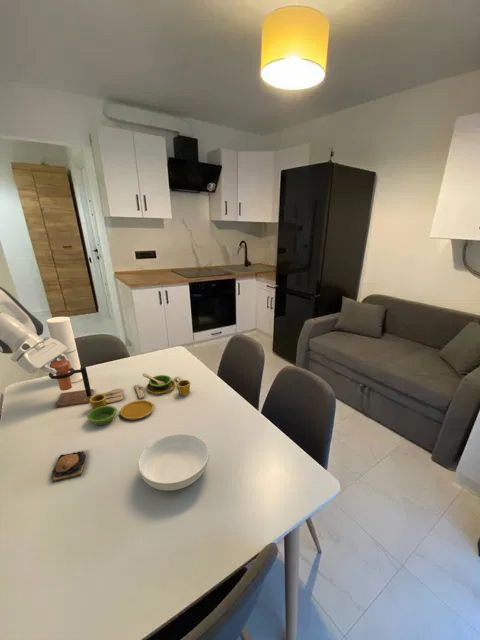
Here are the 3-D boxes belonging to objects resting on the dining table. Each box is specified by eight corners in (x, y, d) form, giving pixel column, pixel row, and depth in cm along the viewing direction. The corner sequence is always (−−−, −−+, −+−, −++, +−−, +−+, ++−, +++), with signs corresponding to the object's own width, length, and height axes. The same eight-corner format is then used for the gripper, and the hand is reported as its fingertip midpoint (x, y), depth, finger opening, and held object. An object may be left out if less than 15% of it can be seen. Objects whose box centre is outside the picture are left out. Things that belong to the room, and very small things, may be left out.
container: (59, 379, 140) (43, 319, 128) (77, 372, 146) (64, 315, 134) (67, 384, 135) (51, 323, 123) (86, 377, 142) (73, 319, 130)
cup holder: (54, 407, 119) (45, 376, 113) (59, 395, 127) (51, 365, 121) (90, 402, 123) (83, 372, 117) (93, 390, 132) (87, 362, 126)
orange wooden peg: (54, 393, 118) (47, 368, 113) (58, 385, 124) (52, 360, 119) (73, 390, 120) (67, 366, 116) (77, 382, 126) (71, 359, 122)
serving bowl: (209, 446, 102) (209, 430, 100) (209, 496, 83) (209, 479, 81) (147, 451, 99) (145, 435, 96) (133, 505, 80) (130, 487, 77)
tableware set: (180, 376, 147) (180, 365, 144) (198, 405, 125) (198, 392, 123) (87, 396, 127) (84, 383, 125) (89, 433, 105) (86, 419, 103)
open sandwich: (83, 475, 88) (80, 466, 87) (50, 482, 85) (47, 473, 84) (88, 451, 97) (86, 443, 96) (58, 457, 94) (55, 448, 93)
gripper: (44, 340, 124) (72, 361, 129) (7, 361, 105) (41, 385, 110) (52, 331, 123) (80, 352, 127) (16, 350, 104) (51, 375, 108)
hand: (62, 368), depth 118 cm, fingers closed on orange wooden peg, 7 cm apart
